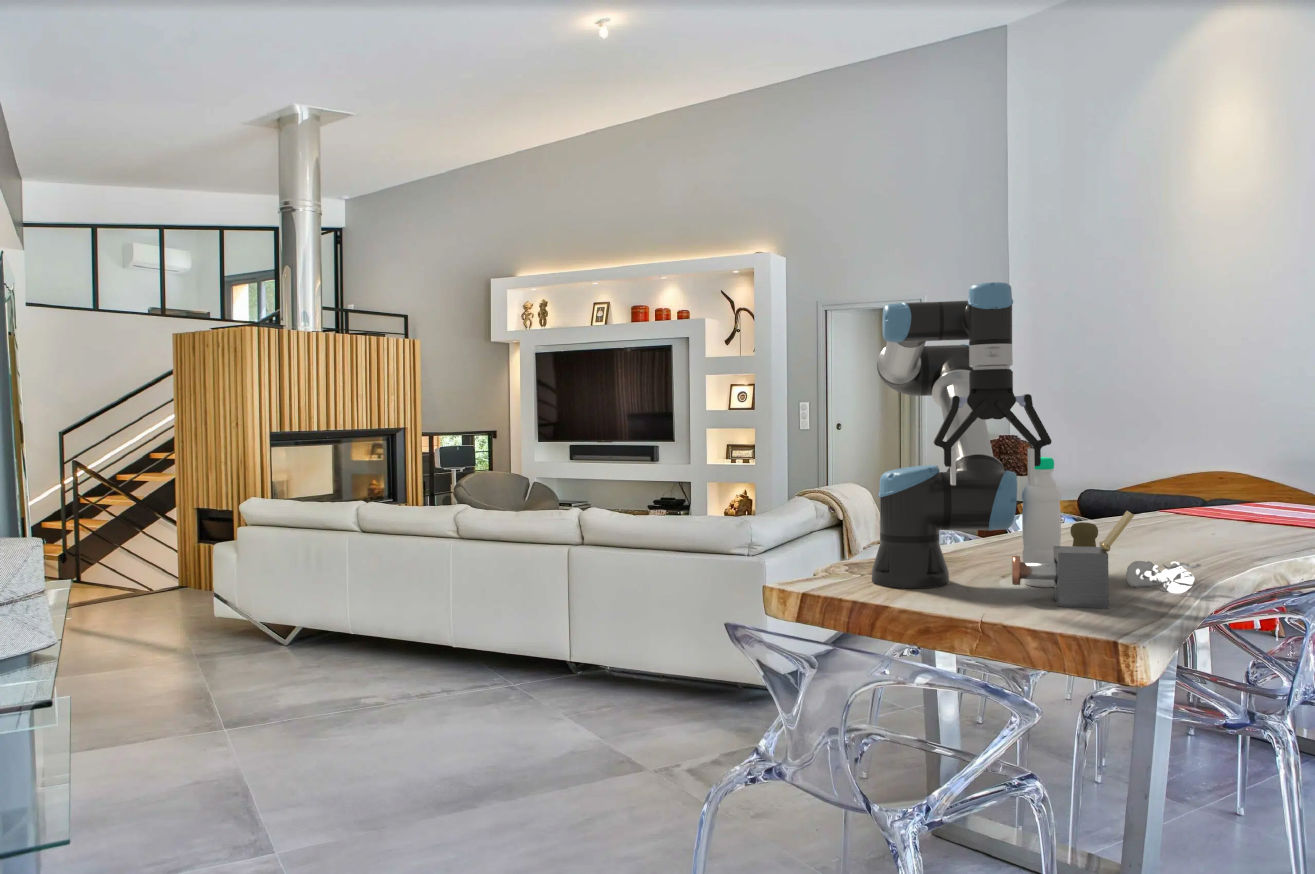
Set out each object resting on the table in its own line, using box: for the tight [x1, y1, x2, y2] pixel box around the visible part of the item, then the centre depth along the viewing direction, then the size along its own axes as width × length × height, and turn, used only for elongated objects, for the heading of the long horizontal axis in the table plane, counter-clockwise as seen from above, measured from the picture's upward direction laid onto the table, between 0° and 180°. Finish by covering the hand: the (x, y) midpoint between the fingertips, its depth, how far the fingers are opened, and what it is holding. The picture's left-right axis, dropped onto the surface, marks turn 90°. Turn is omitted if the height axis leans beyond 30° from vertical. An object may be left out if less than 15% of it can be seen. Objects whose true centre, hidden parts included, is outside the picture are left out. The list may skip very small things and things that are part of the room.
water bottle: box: [1021, 456, 1062, 588], centre depth 187 cm, size 7×7×25 cm
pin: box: [1011, 555, 1057, 586], centre depth 171 cm, size 13×5×5 cm, turn 73°
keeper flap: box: [1098, 510, 1135, 553], centre depth 168 cm, size 8×4×1 cm
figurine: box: [1125, 560, 1203, 594], centre depth 180 cm, size 9×6×12 cm
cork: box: [1070, 521, 1099, 547], centre depth 195 cm, size 6×6×11 cm
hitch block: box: [1053, 545, 1110, 609], centre depth 170 cm, size 8×8×10 cm
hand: (991, 484), depth 175 cm, fingers open, 13 cm apart
